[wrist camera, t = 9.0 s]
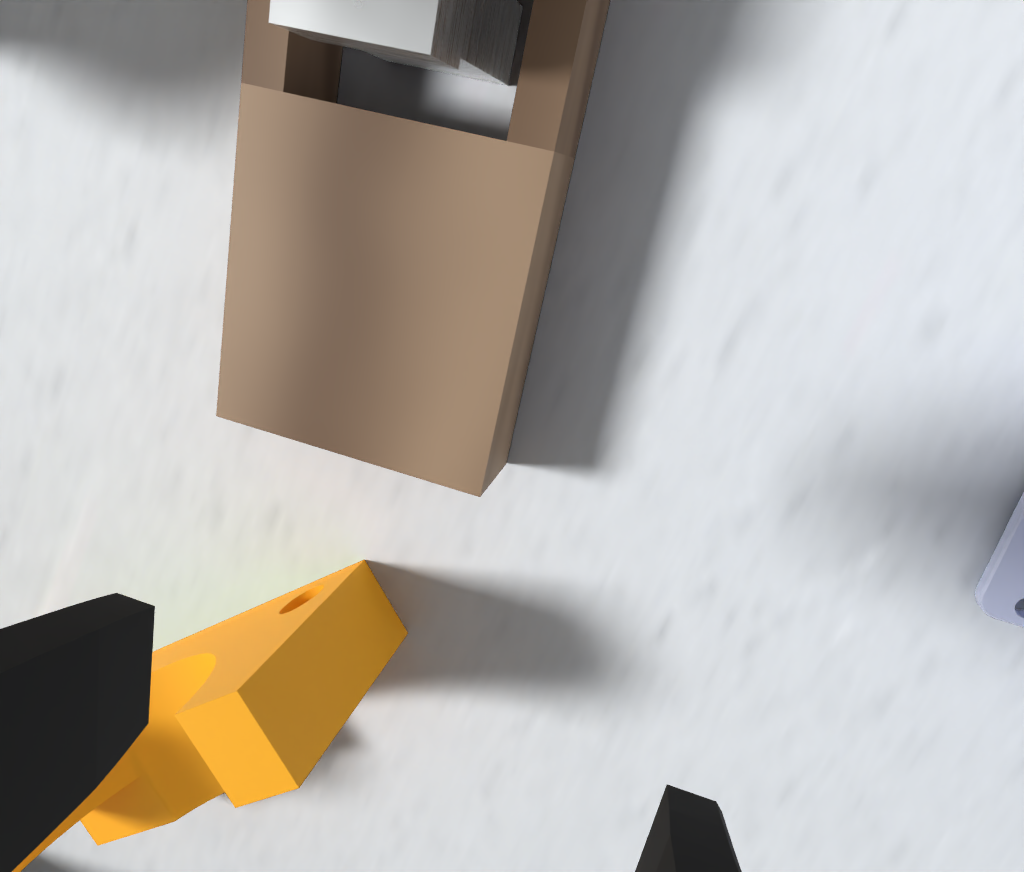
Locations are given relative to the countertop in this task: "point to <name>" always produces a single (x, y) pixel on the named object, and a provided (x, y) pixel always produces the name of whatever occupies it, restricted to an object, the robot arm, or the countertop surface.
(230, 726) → the orange saddle block
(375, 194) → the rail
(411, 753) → the countertop surface
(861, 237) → the countertop surface
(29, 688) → the robot arm
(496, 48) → the brushed aluminum block
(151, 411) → the countertop surface
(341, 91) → the countertop surface
